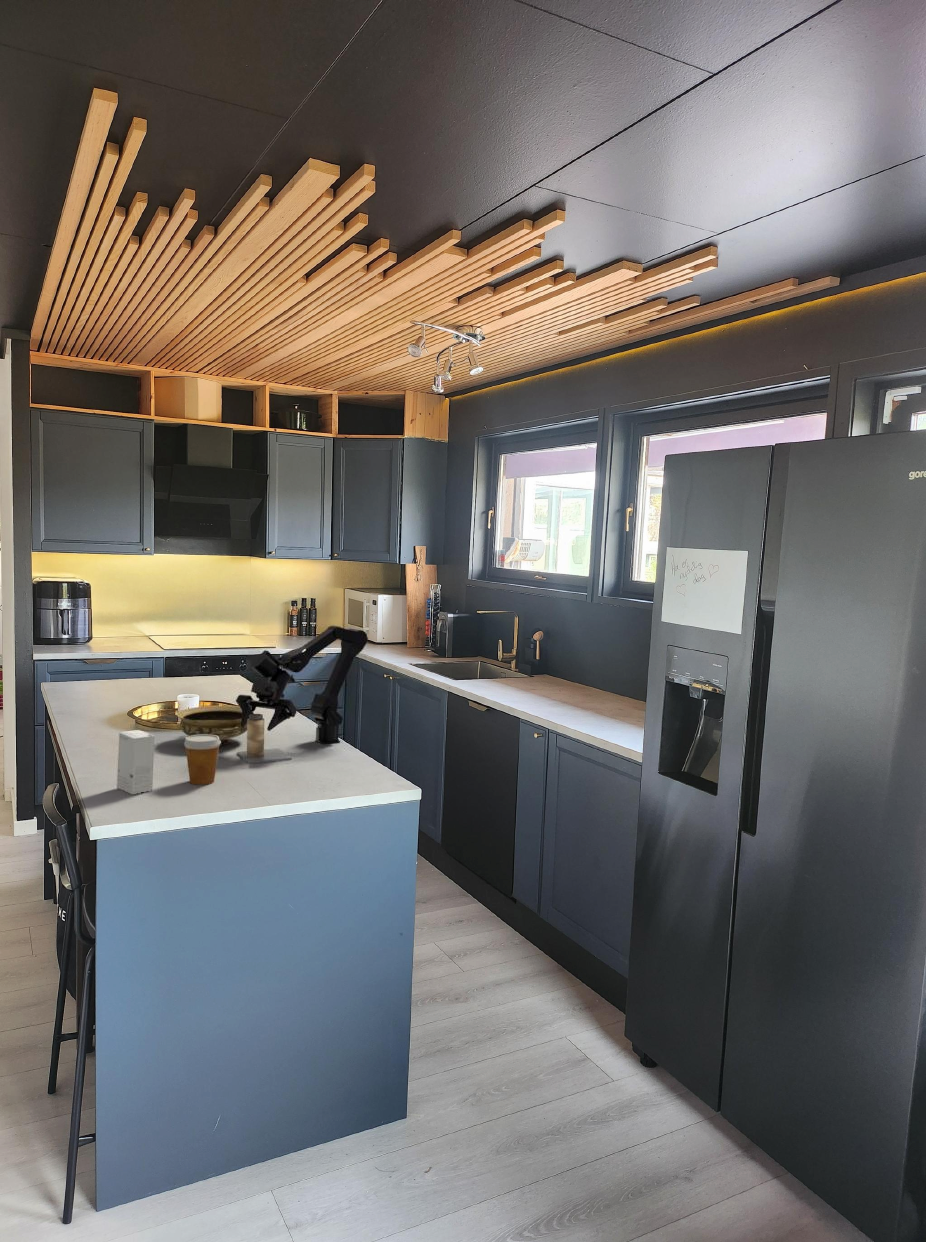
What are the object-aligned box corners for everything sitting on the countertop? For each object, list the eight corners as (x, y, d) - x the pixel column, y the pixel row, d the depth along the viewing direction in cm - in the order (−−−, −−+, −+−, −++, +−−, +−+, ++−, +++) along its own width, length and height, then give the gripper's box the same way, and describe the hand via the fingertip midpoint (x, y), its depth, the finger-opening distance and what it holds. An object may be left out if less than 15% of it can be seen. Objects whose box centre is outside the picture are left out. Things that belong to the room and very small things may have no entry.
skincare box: (116, 788, 216) (116, 731, 215) (138, 784, 221) (138, 728, 220) (132, 795, 211) (133, 737, 210) (155, 790, 216) (155, 734, 214)
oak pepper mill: (262, 753, 255) (263, 713, 254) (264, 757, 251) (265, 716, 250) (245, 754, 254) (246, 713, 253) (247, 758, 249) (248, 717, 248)
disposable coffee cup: (227, 779, 228) (228, 736, 227) (206, 788, 219) (206, 743, 218) (198, 775, 231) (198, 732, 230) (175, 783, 222) (176, 739, 221)
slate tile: (278, 750, 263) (278, 748, 263) (291, 759, 252) (291, 757, 252) (237, 753, 256) (237, 751, 256) (248, 763, 245) (248, 761, 245)
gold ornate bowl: (163, 737, 274) (163, 707, 273) (234, 730, 288) (234, 701, 288) (194, 757, 250) (194, 724, 249) (269, 748, 264) (270, 717, 263)
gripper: (239, 668, 258) (217, 710, 248) (292, 673, 251) (271, 716, 242) (253, 690, 266) (232, 731, 256) (305, 695, 260) (285, 737, 250)
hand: (254, 728), depth 251 cm, fingers open, 9 cm apart
